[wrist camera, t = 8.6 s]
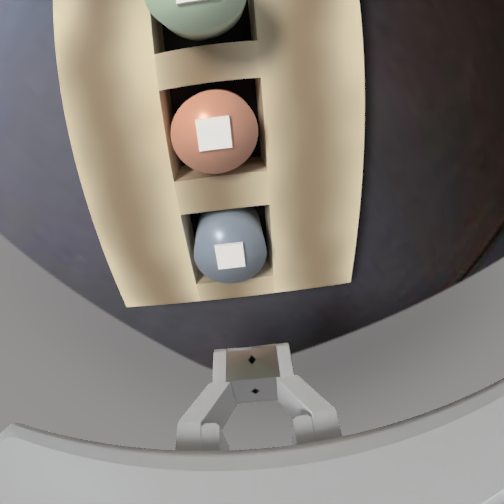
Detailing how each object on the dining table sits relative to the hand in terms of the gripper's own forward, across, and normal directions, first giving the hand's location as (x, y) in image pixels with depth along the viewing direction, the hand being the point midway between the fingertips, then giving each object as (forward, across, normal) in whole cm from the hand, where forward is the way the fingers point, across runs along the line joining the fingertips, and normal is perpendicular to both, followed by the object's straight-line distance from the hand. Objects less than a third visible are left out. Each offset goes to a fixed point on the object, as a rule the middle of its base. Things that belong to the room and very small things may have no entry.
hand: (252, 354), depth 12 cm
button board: (+11, -1, +8) cm, 13 cm away
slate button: (+10, -1, 0) cm, 11 cm away
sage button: (+8, -1, +14) cm, 17 cm away
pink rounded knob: (+10, -1, +7) cm, 13 cm away
